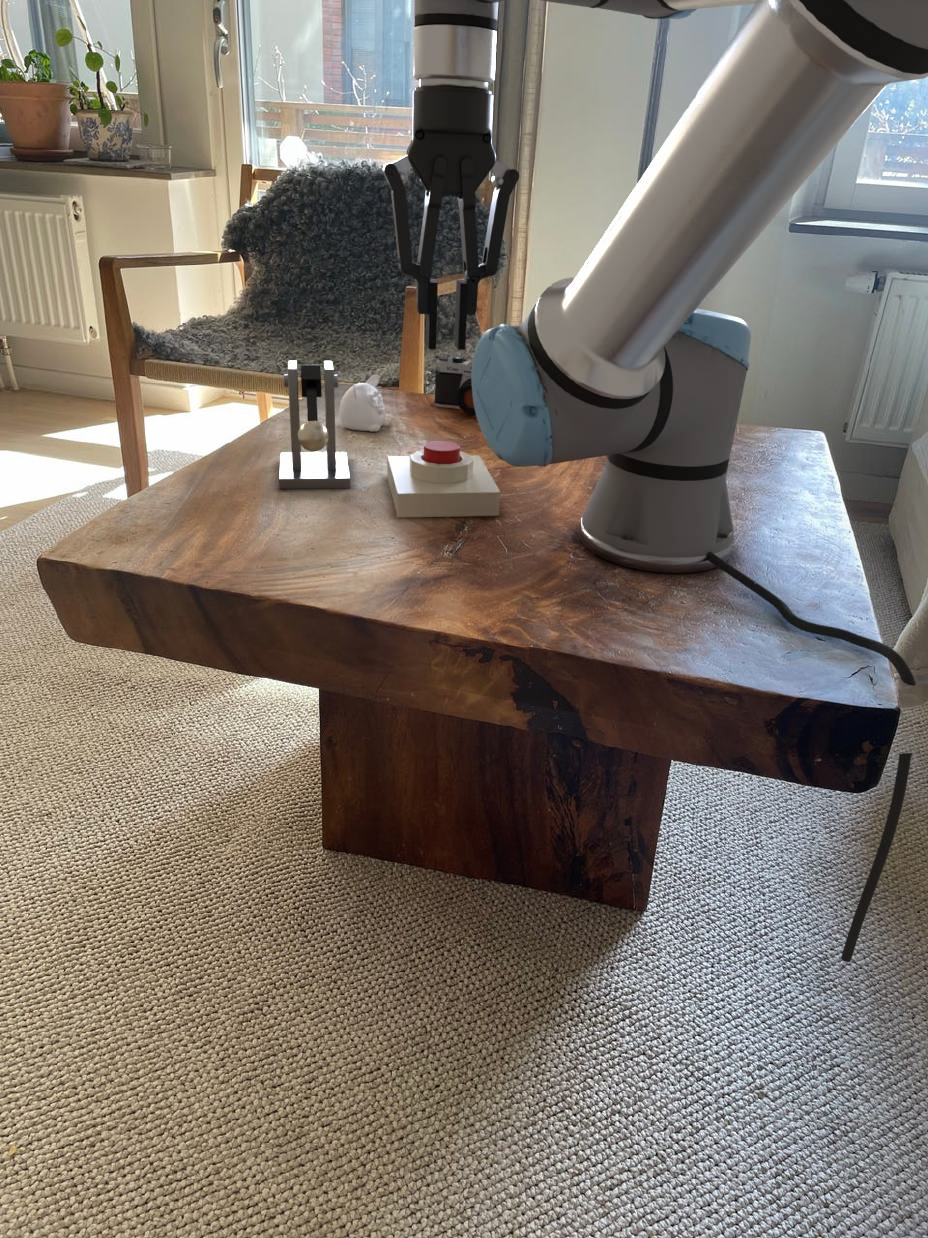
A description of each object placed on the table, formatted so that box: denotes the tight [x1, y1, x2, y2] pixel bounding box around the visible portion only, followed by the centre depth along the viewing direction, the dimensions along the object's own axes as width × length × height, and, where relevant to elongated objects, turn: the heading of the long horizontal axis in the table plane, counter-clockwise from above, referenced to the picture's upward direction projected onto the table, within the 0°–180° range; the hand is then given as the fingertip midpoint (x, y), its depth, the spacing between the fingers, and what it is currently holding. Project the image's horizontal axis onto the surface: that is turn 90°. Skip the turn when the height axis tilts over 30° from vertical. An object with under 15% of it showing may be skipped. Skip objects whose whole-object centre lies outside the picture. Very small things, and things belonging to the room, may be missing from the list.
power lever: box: [298, 364, 328, 452], centre depth 97 cm, size 13×3×3 cm, turn 9°
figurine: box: [338, 373, 390, 433], centre depth 123 cm, size 8×6×7 cm
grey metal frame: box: [278, 360, 351, 490], centre depth 102 cm, size 10×8×13 cm
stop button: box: [423, 440, 461, 464], centre depth 98 cm, size 4×4×2 cm
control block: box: [386, 449, 501, 518], centre depth 100 cm, size 13×11×4 cm
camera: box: [433, 355, 477, 417], centre depth 133 cm, size 13×8×9 cm, turn 81°
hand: (445, 346), depth 93 cm, fingers open, 2 cm apart
